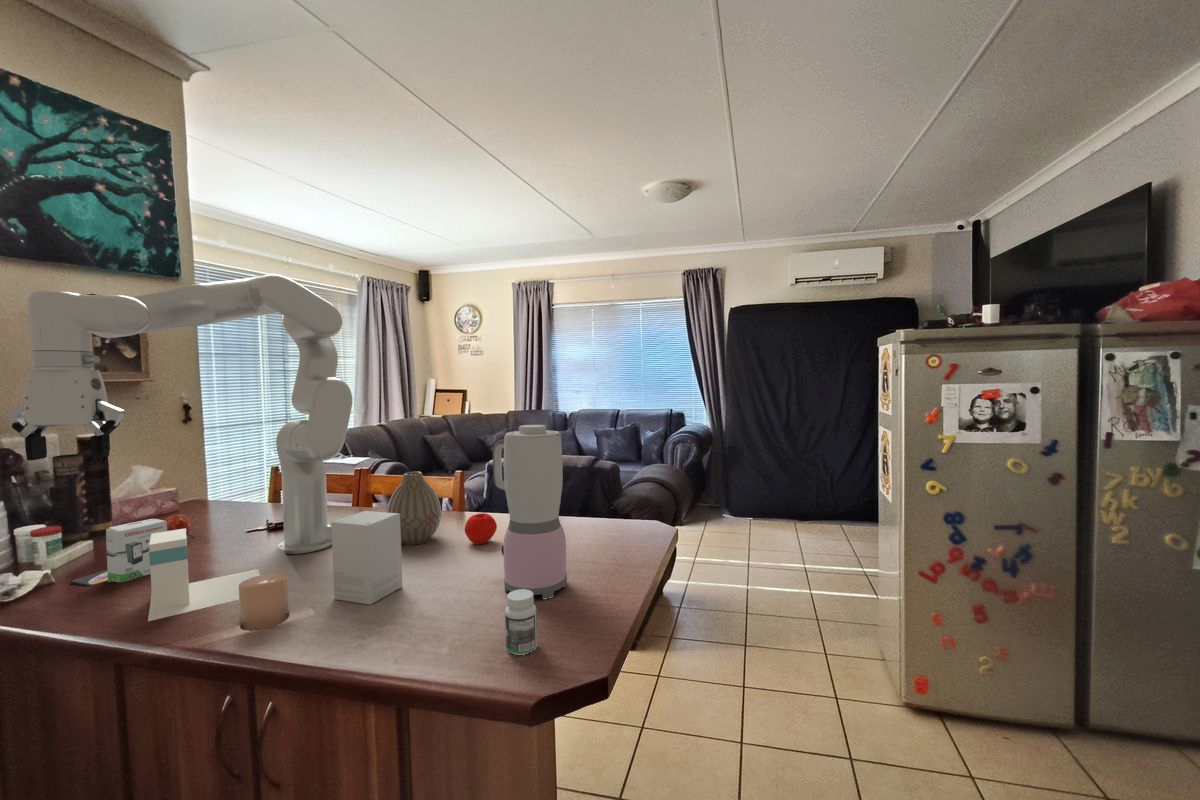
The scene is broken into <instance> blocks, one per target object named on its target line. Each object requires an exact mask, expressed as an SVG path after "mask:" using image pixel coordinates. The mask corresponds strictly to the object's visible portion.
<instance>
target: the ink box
mask: <svg viewBox="0 0 1200 800" xmlns="http://www.w3.org/2000/svg"><path fill="white" fill-rule="evenodd" d="M164 520H165V519H163V520H162V519H159V518H149V519H144V520H138V521H135V522H134V521H133V522H128V523H125V524H119V525H114V526H110V527H108V528H106V529H105V544H106V563H107V565H106V566H107V568H106V570H108V582H107V583H111V582H116V583H124V582H128V581H131V580H135V579H138V578H141V577H144V576H148V575H151V571H150V560H149V543H150V538H151V534H153V533H159V532H166V531H167V521H164Z"/></svg>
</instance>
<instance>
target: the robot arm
mask: <svg viewBox="0 0 1200 800" xmlns="http://www.w3.org/2000/svg"><path fill="white" fill-rule="evenodd" d="M27 303H28V304H27V306H28V321H29V322H28V323H29V325H28V326H29V337H30V339H29V340H30V350H31V352H30V353H31V354H30V356H31V367H32V368H31V369H30V370H28V372H27V376H26V381H25V387H24V397H23V398H24V399H23V403H24V404H22V405H19V406H18V407H15V408H14V409H12V410H9V411H7V412H5V414H4V415H5V418H6V419H7V421H8V422H9V423H10V424H11V428H12V429H13V430H15V431H16V432H17V433H19V437H21V438H22V439H24V447H25V454H26V455H25V456H26V460H27V461H28V462H29V461H37V460H43V459H46V458H47V457H48V451H47V448H48V447H47V437H46V436H45V435H42V434H43V433H44V432H45V431H46V430H47V429H48V428H49V427H76V426H77V427H79V426H85V427H86V428H87V429H88V430H89V431H90V432H91V433H92V434H94V435H91V436H90V452H91V453H90V454H91V458H93V459H101V458H105V457H109V456H110V450H111V440H110V435H112V434H113V433H114V431H115V430H116V429H117V428H118V427H119V426H120V425H121V421H122V419H123V418H124V416H125V414H126V411H125V410H124V409H123V408H120V407H117V406H115V405H112V404H110V403H109V402H108V401H109V400H108V396H107V395H108V394H107V391H106V386H105V383H104V379H103V376H102V373H101V372H100V370H99V369H95V364H99V363H100V361H101V358H100V356H98V355H94V351H93V347H94V346H93V338H92V337H93V335H95V336H98V337H100V338H104V339H117V338H120V337H130V336H135V335H138V334H145V333H149V332H155V331H161V330H168V329H176V328H187V327H188V328H190V327H199V326H208V325H214V324H219V323H224V322H229V321H235V320H236V321H237V320H241V319H248V318H252V317H259V316H264V315H271V314H276V313H278V314H281V315H282V326H283V328H284V330H285V332H286V333H287V334H288V335H289V337H290V338H291V339H292V340H293V341H294V343H295V345H296V346H297V349H298V351H299V362H298V366H297V367H298V369H297V371H296V376H295V381H294V384H293V389H292V393H291V405H292V407H293V408H294V410H295V411H297V412H299V413H300V414H303V415H308V416H309V417H308V419H296V420H295V419H294V420H291V421H289V422H287V423H286V424H284V425H283V426H282V427H281V428H280V429H279V430H278V432H277V434H276V435H277V436H276V438H275V439H276V440H275V445H276V453H277V455H278V460H279V466H280V472H281V473H280V474H281V493H282V494H281V495H282V496H281V497H282V515H283V516H282V518H283V519H282V520H283V540H282V541H281V542H280V543H277V546H276V550H282V551H283V553H284V554H285V555H297V554H299V555H300V554H307V553H312V552H313V553H314V552H317V551H321V550H323V549H326V548H329V547H332V533H331V524H330V523H328V521H329V519H328V498H327V496H328V494H327V474H326V466H325V463H324V462H325V461H326V462H327V461H329V460H332V459H335V457H337V455H339V453H340V452H341V450H342V448H343V446H344V444H345V440H346V436H347V433H348V427H349V422H350V418H351V413H352V407H353V394H352V391H351V389H350V388H351V387H349V385H348V384H347V382H345V381H344V380H343V379H340V378H338V377H336V376H337V369H338V365H339V363H338V362H339V361H338V360H339V358H338V350H337V348H336V346H335V344H334V341H333V339H332V337H334V336H335V335H337V334H339V332H340V330H341V329H342V327H343V317H342V315H341V312H340V311H339V310H338V309H337V308H336V307H335V305H333V303H331V302H329V301H327V300H326V299H324V298H323V297H321V296H320V295H318V294H316V293H315V292H313V291H311V290H310V289H308V288H306V287H305V286H303V285H301V284H300V283H298V282H296V281H295V280H293V279H291V278H289V277H287V276H284V275H282V274H278V273H269V274H265V275H264V274H263V275H260V276H256V277H255V276H254V277H247V278H240V279H239V278H238V279H231V280H223V281H222V280H221V281H213V282H204V283H203V282H202V283H201V282H200V283H193V284H190V285H183V286H180V287H177V288H173V289H168V290H165V291H159V292H155V293H147V294H140V295H132V296H127V295H123V294H122V295H121V294H109V295H108V294H107V295H106V294H103V295H102V294H101V295H100V294H99V295H97V294H94V295H93V294H80V293H77V292H69V291H62V290H61V291H60V290H37V291H33V292H31V293H30V294H29V296H28V298H27Z"/></svg>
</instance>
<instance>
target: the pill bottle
mask: <svg viewBox="0 0 1200 800" xmlns="http://www.w3.org/2000/svg"><path fill="white" fill-rule="evenodd" d="M534 596H535V595H533V592H532V591H530V590H526V589H519V590H514V591H512V592H511V591H509V593H507V595H506V605H507V606H506V607H505V611H504V621H505V622H504V623H505V648H506V651H507V650H508V651H509V652H511V653H513V654H526V653H529V652H531V653H533V652H534V651H536V650H537V648H536V647H538V628H537V627H538V626H537V623H538V621H537V607H536V605H535V604H534V601H535V599H534ZM533 650H534V651H533ZM508 651H507V652H508ZM532 651H533V652H532ZM509 652H508V653H509Z"/></svg>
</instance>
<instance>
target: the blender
mask: <svg viewBox="0 0 1200 800" xmlns="http://www.w3.org/2000/svg"><path fill="white" fill-rule="evenodd" d="M503 438H504V439H500V440H498V441H496V442H495V444H494V445H493V448H492V469H493V483H494V485H495V487H496V488H498V489H499V490H502V491H504V492H505V497H506V502H507V503H506V505H507V508H508V514H509V524H508V525H507V526H508V527H507V529H506V532H505V533H504V537H503V545H502V546H501V555H502V556H503V569H504V570H503V571H504V572H503V574H504V578H503V580H504V581H503V582H504V585H503V586H504V592H505V591H507V592H512V591H514V590H519V589H526V590H530V591H532V592H533V595H534V596H536V595H541V598H549V597H552V596H553V597H554V594H555V592H556V591H558V590H560V589H562V588H563V587H564V586H565V587H566V588H567V583H568V582H567V581H568V577H567V575H568V574H567V541H566V540H567V539H566V534H565V531H564V528H563V526H562V524H561V522H560V516H559V515H560V514H559V513H560V506H561V500H562V499H561V498H562V491H563V483H564V482H563V480H564V479H563V477H564V476H563V474H564V473H563V470H564V469H563V467H564V466H563V463H564V462H563V461H564V460H563V449H562V447H563V445H562V434H561V433H560V432H559V431H557V430H549V429H548V430H547V427H546V425H545V424H523V425H520V426H519V427H518V430H515V431H509V432H506V433H505V434H504V437H503ZM502 450H503V461H502ZM502 462H503V465H502ZM502 467H503V469H502Z"/></svg>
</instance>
